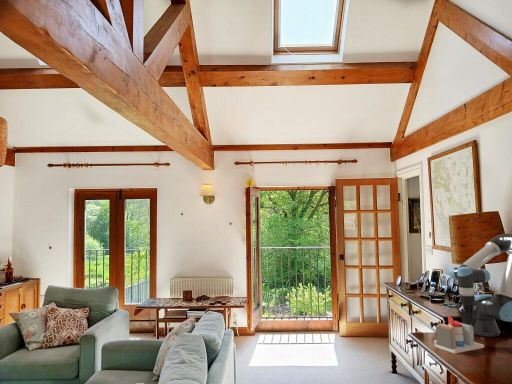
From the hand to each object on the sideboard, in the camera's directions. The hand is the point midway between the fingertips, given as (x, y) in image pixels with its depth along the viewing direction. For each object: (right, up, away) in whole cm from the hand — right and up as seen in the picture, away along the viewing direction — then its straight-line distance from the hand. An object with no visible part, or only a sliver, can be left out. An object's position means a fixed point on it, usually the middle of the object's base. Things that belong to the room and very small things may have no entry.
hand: (470, 338), depth 206 cm
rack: (-8, -4, -4) cm, 10 cm away
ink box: (-10, -2, -4) cm, 11 cm away
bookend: (-4, -2, -2) cm, 5 cm away
